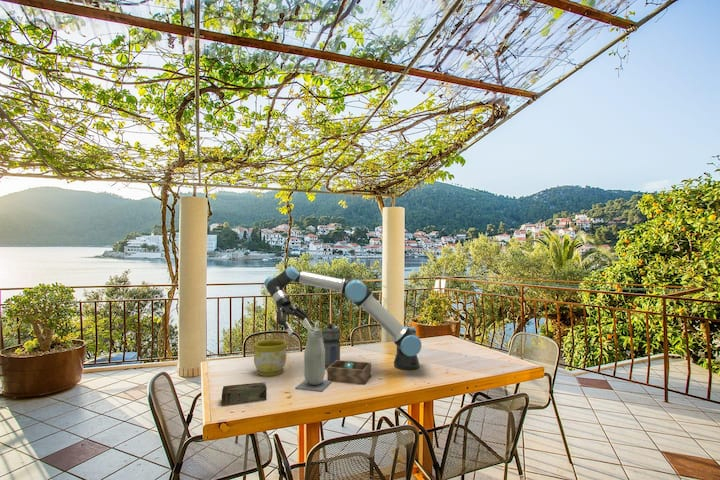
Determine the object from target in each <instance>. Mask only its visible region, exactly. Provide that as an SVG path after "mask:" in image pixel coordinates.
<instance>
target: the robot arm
mask: <svg viewBox="0 0 720 480" xmlns="http://www.w3.org/2000/svg"><path fill="white" fill-rule="evenodd" d="M291 283H295V284H302V285H308V286H312V287H316V288H322V289H326V290H330V291H336V292H339V293H340V294H341V295H345V296H346V299H348V300H349V301H351V302H352V303H353V304H355V306H356V307H358V308H362V309H363V310H364V311H365V312H366V313H367V314H368V315H369V316H370V317H371V318H373V320H374V321H376V322H377V324H378V325H379V326H380V327H381V328H382V329H383V330H385V332H386V333H388V335H389V336H390V337H392V342H393V343H394V344H395V346H396V353H395V357H394V360H393V367H394V368H395V369H399V370H403V371H404V370H406V371H407V370H408V371H409V370H410V371H411V370H412V371H414V370H417V369H419V368H420V361H419V358H418V354H419V353H420V352H421V350H422V347H423V346H422V341H421V339H420V337H419V336H417V328H416V327H415V326H414V327H413V326H406V325H405V326H404V325H402V324H401V322H399V321H398V319H396V318H395V317H394V316H393V315H392V314H391V313H390V312H389V311H388V310H387V309H386V308H385V306H383V304H381V303H380V302H379V300H377V299H376V297H374V296H373V293H374V292H373V291H372V290H371V289H370V288H369V287H368V286H367V285H366V284H365V282H364V281H362V280H361V279H359V278H349V277H348V278H347V277H343V278H339V277H334V276H328V275H324V274H318V273H314V272H309V271H304V270H299V269H297V268H295V267H294V266H293V265H290V266H289V267H286V268H285V270H283V271H282V272H281V273H280V274H278V275H277V276H274V275H271V276H269V277H266V279H265V280H264V282H263V285H264V287H265V288H266V291H267V292H268V294H269V295H270V297H271V298H272V300H273V302H274V303H275V305H276V309H275V313H276V319H277V324H278V325H280V326H281V327H283V328H284V330H286V332H287V333H288V334H287V335H289V336H291V335H292V334H293V333H294V330H293V329H292V327H291V326H290V324H289V322H288V321H286V320H287V316H289V315H291V316H295V317H297V318H298V319H300V320H301V321H302V323H303V325H304V327H305V328H306V330H307V332H308V331H309V329H310V328H313V327H312V326H311V325H312V324H310V321H309V320H308V318H309V314H307V313H306V312H304V311H303V310H302V309H301V308H300V307H299V306H298V305H297V304H294V305H292V301H291V300H290V298H289V297H288V294H287V293H286V292H285V290H284V288H286V286H288V285H289V284H291Z"/></svg>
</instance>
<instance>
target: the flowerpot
mask: <svg viewBox="0 0 720 480" xmlns="http://www.w3.org/2000/svg"><path fill="white" fill-rule="evenodd" d="M287 344H288V343H287V341H286V340H284V339H275V338H274V339H264V340H259V341H257V342H254V343H253V347H254V353H253V354H254V355H253V363H254V366H255V368H256V372H257V373H258V375H259V376H264V377H273V376H277V375H280V374H281V373H282V372H283V370H284V366H285V364H286V363H287V362H286V361H287Z"/></svg>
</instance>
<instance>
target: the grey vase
mask: <svg viewBox="0 0 720 480" xmlns="http://www.w3.org/2000/svg"><path fill="white" fill-rule="evenodd" d="M306 337H307V338H306V343H305V347H304V354H303V360H304V361H303V362H304V363H303V364H304V367H303V369H304V373H303V374H304V375H303V376H304V380H306V381H307V382H308V383H309V384H311V385H318V384H320V383H321V382H322V381H323V380H325V379H324V378H325V375H326V374H325V373H326V372H325V371H326V368H325V348H324V344H323V341H324V339H323V331H322V329H320V328H319V327H312V328H310V329H309V331H308V330H307V334H306Z"/></svg>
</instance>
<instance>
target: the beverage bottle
mask: <svg viewBox="0 0 720 480" xmlns="http://www.w3.org/2000/svg"><path fill="white" fill-rule="evenodd" d="M322 338H323V344H324V348H325V369H327V367H328V366H330V365H331V364H332V363H333V362H335V361H336V360H341V341H340V339H341V328H340V327H338V328H335V324H333V325H332V323H328V324H327V328H323V331H322Z"/></svg>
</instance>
